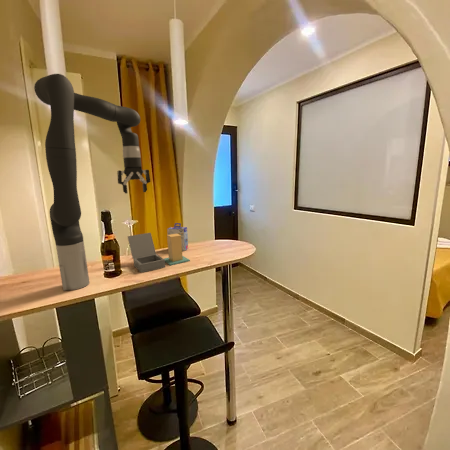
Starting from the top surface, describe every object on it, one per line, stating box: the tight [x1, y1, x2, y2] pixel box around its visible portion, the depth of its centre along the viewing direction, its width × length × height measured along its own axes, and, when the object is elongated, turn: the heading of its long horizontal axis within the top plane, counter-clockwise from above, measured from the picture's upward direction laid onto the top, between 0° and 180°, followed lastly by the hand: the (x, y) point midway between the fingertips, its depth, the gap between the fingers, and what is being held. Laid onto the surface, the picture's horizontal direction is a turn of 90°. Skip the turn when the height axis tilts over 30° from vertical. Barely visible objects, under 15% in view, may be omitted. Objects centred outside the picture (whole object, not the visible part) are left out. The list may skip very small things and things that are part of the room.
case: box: [132, 253, 166, 273], centre depth 124 cm, size 11×11×4 cm
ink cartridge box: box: [166, 222, 189, 252], centre depth 149 cm, size 10×6×14 cm, turn 78°
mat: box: [163, 255, 191, 266], centre depth 132 cm, size 10×10×1 cm
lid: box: [127, 232, 157, 259], centre depth 131 cm, size 11×11×2 cm
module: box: [166, 234, 183, 262], centre depth 130 cm, size 5×5×12 cm
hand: (135, 192), depth 127 cm, fingers open, 8 cm apart
